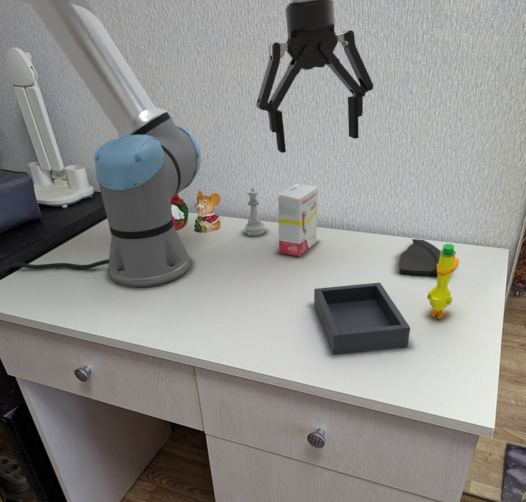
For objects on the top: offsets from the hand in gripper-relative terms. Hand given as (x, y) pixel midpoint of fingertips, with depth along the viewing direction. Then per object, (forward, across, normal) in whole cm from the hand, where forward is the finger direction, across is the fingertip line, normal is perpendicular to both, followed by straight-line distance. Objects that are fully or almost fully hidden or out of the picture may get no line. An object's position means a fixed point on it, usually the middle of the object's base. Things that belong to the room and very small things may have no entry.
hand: (318, 144), depth 88 cm
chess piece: (+19, -11, +14) cm, 27 cm away
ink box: (+20, -4, +4) cm, 21 cm away
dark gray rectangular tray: (+21, -5, -28) cm, 35 cm away
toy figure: (+22, +8, -29) cm, 38 cm away
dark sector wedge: (+22, +16, -11) cm, 29 cm away
